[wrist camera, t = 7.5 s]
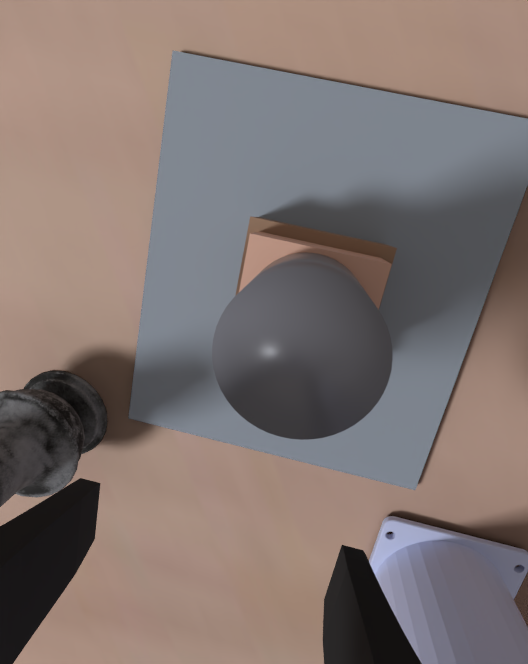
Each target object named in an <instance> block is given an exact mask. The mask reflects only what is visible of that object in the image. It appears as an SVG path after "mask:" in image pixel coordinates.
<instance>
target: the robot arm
mask: <svg viewBox="0 0 528 664" xmlns="http://www.w3.org/2000/svg"><path fill="white" fill-rule="evenodd" d="M99 491H100V483H97V482H93V481H89V480H86V479H82V478H80V479H79V480H77V481H75V482H73V483H72V484H70V485H68V486H67V487H65V488H64V489H62V490H60V491H59V492H57V493H55V494H54V495H52V496H51V497H49V498H47V499H46V500H44V501H42V502H41V503H39V504H38V505H36V506H34V507H33V508H31V509H29V510H28V511H26V512H24V513H23V514H21V515H19V516H17V517H16V518H14V519H12V520H11V521H9V522H7V523H6V524H4V525H2V526H0V664H13V663H14V661H15V660H16V658H17V657H18V655H19V654H20V652H21V651H22V649H23V648H24V647H25V645H26V644H27V642H28V641H29V640H30V638H31V637H32V635H33V634H34V632H35V631H36V630H37V628H38V627H39V625H40V624H41V622H42V621H43V620H44V618H45V617H46V615H47V614H48V613H49V611H50V610H51V608H52V607H53V605H54V604H55V603H56V601H57V600H58V598H59V597H60V595H61V594H62V592H63V591H64V590H65V588H66V587H67V585H68V584H69V582H70V581H71V579H72V578H73V577H74V575H75V574H76V572H77V570H78V568H79V566H80V565H81V563H82V561H83V559H84V558H85V556H86V554H87V552H88V550H89V548H90V546H91V545H92V543H93V541H94V539H95V530H96V520H97V510H98V501H99ZM387 532H393V533H392V534H386V533H387ZM517 565H520V566H518V567H515V566H517ZM527 572H528V552H527V551H526V550H524V549H520V548H517V547H513V546H509V545H505V544H501V543H497V542H493V541H489V540H485V539H481V538H477V537H473V536H469V535H466V534H462V533H458V532H454V531H450V530H446V529H442V528H438V527H434V526H430V525H426V524H422V523H418V522H415V521H411V520H407V519H403V518H399V517H395V516H389V517H386V518H385V519H384V520H383V522H382V525H381V528H380V531H379V534H378V537H377V539H376V542H375V545H374V548H373V551H372V554H371V557H370V559H369V561H368V559H367V556H366V554H365V553H364V551H363V550H359V549H355V548H352V547H348V546H344V545H342V546H341V549H340V552H339V556H338V559H337V562H336V565H335V568H334V571H333V574H332V577H331V580H330V583H329V586H328V589H327V593H326V596H325V599H324V619H323V651H324V664H528V627H527V625H526V623H525V621H524V619H523V617H522V615H521V613H520V611H519V609H518V608H517V606H516V604H515V602H514V598H515V596H516V594H517V592H518V590H519V588H520V586H521V584H522V582H523V580H524V578H525V576H526V574H527Z"/></svg>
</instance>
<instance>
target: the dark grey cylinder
mask: <svg viewBox="0 0 528 664" xmlns="http://www.w3.org/2000/svg"><path fill="white" fill-rule="evenodd" d="M212 361H213V368H214V372H215V376H216V380H217V382H218V384H219V387H220V389H221V391H222V393H223V394H224V396H225V398H226V400H227V401H228V402H229V403H230V405H231V406H232V407H233V408H234V410H235V411H236V412H237V413H238V414H239V415H240V416H242V417H243V418H244V419H245V420H247V421H248V422H249V423H251V424H252V425H254V426H256V427H257V428H259V429H261V430H263V431H265V432H267V433H270V434H273V435H276V436H279V437H284V438H289V439H298V440H309V439H318V438H324V437H328V436H332V435H335V434H337V433H340V432H342V431H345V430H346V429H348V428H350V427H352V426H354V425H355V424H356V423H358V422H359V421H360V420H362V419H363V418H364V417H365V416H366V415H367V414H368V413H369V412H370V411H371V410H372V409H373V408H374V407H375V405H376V404H377V403H378V402H379V400H380V398H381V396H382V395H383V393H384V391H385V389H386V386H387V384H388V381H389V378H390V374H391V369H392V361H393V353H392V343H391V337H390V334H389V330H388V327H387V325H386V323H385V320H384V318H383V316H382V314H381V313H380V311H379V310H378V308H377V307H376V305H375V304H374V302H373V301H372V300H371V298H370V297H369V295H368V294H367V293H366V291H365V290H364V288H363V287H362V285H361V284H360V283H359V281H358V280H357V278H356V277H355V276H354V275H353V273H352V272H351V271H350V270H349V269H348V268H347V267H345V266H344V265H343V264H341V263H340V262H338V261H337V260H335V259H333V258H331V257H328V256H325V255H322V254H317V253H308V252H303V253H294V254H290V255H287V256H284V257H281V258H279V259H277V260H275V261H273V262H272V263H271V264H269V265H268V266H266V267H265V268H264V269H263V270H262V271H261V272H260V273H259V274H258V275H257V276H256V277H255V278H254V279H253V280H252V281H251V282H250V283H248V284H247V285H246V286H245V287H244V288H243V289H242V290H241V291H240V292H239V293H238V294H237V295H236V296H235V297H234V298H233V299H232V300H231V302H230V303H229V304H228V305H227V307H226V308H225V310H224V312H223V313H222V315H221V317H220V319H219V321H218V324H217V326H216V330H215V333H214V337H213V345H212Z"/></svg>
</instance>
